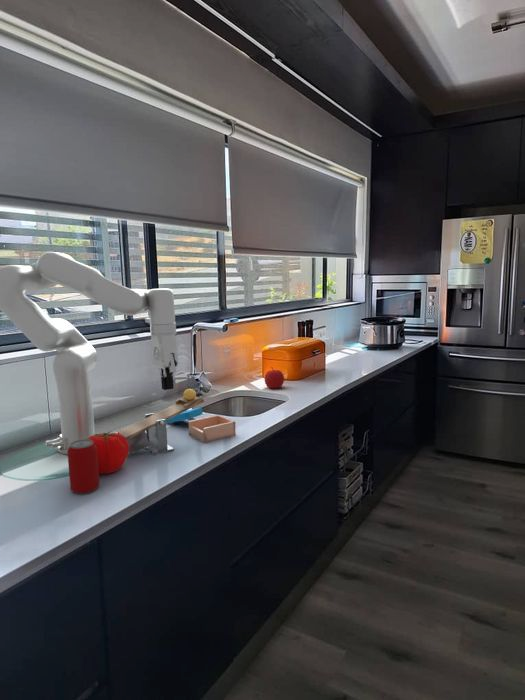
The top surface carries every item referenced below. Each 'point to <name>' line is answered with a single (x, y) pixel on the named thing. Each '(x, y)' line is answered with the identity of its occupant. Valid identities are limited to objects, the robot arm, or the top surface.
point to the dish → (212, 428)
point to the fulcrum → (158, 437)
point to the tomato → (110, 451)
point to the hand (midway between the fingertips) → (167, 388)
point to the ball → (189, 395)
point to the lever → (154, 423)
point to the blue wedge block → (186, 415)
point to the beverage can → (83, 466)
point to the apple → (274, 379)
